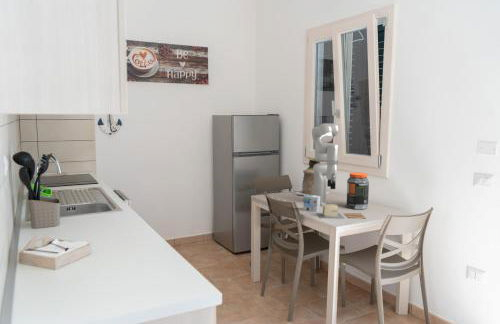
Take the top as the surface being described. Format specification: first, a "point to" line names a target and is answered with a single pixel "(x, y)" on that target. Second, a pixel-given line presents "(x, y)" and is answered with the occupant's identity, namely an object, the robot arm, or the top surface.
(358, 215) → the walnut pad
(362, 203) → the supplement tub
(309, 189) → the burlap sack
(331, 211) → the birch block
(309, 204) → the light bulb box
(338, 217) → the mat
